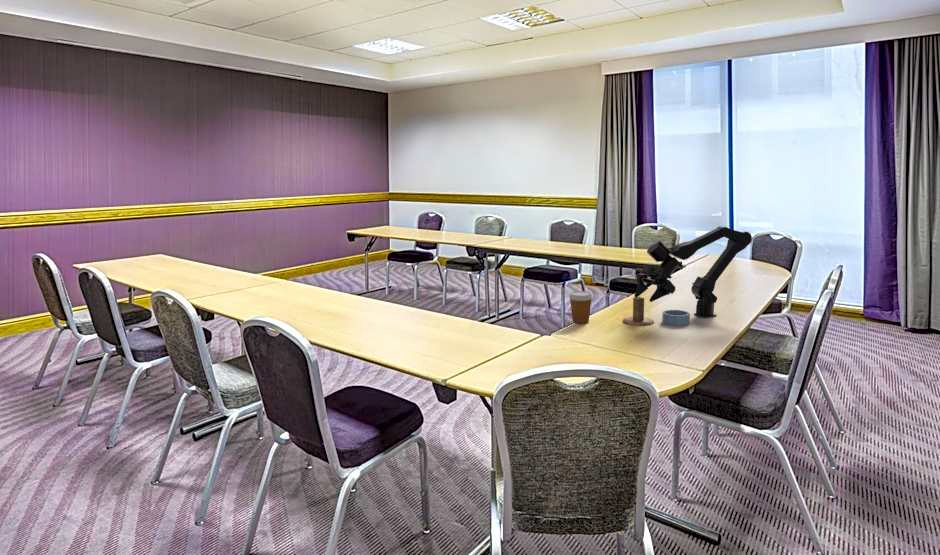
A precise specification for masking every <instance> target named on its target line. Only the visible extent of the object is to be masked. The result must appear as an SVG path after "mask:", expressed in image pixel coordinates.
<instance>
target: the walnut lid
mask: <svg viewBox="0 0 940 555" xmlns="http://www.w3.org/2000/svg"><path fill="white" fill-rule="evenodd" d="M632 303H633V304H632V316H629V317H628V316H627V317H625V318H623V319H622V322H623V324H625V325H628V326H634V327H635V326H636V327H644V326H645V327H646V325H648V326H652V325H654V323H655V320H654V319H652V318H649V317H645V298H644V297H641V296H638V297H635V296H634V297H633V299H632ZM651 324H652V325H651Z"/></svg>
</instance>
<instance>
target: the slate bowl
mask: <svg viewBox="0 0 940 555" xmlns="http://www.w3.org/2000/svg"><path fill="white" fill-rule="evenodd" d="M661 318H662V320H661V322H662V324H664V325H667V326H672V325H673V327H684V326H688V325H690V323H691V322H690V320H691V314H690V312H689V311H686V310H683V309H681V310H680V309H666V310H663V311H662V316H661Z"/></svg>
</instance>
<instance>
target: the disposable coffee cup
mask: <svg viewBox="0 0 940 555" xmlns="http://www.w3.org/2000/svg"><path fill="white" fill-rule="evenodd" d="M593 298H594V296H593V294H592V292H590V291H584V290H579V291H578V290H577V291H576V290H575V291H571V292H570V293H569V295H568V299H569V301H570V303H569V304H570V310H571V315H572V319H571V320H572V323H574V324H576V325H585V324H589V321H590V314H591V306H592V299H593ZM577 323H578V324H577Z"/></svg>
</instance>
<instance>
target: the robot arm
mask: <svg viewBox="0 0 940 555" xmlns="http://www.w3.org/2000/svg"><path fill="white" fill-rule="evenodd" d="M722 238H725V239H728V240H727V243H726V247H725V249H724V250H723V251H722V253H721V254H720V255H719V256H718V258H717V259H716V260H715V261H714V263H713V264H712V266H711V267H710V268H709V270H708V272H707V273H706V274H705V275H704V276H702V277H701V276H696V279H695V280H694V282H692V283H691V293H692V295H694V298H695V300H697V301H696V306H695V308H696V309H695V312H694V313H693V315H694V316H698V317H701V318H704V319H705V318H712V317H717V316H718V315H717V314H716V313H715V303H717V301H718V297H717V296H716V295H715V293H713V292H714V291H715V289H716V288H715V286H716V282H717V281H718V279H719V278H720V277H721V275H722V274H723V272H724V271H725V270H726V269H727V267H728V266H729V265H730V264H731V262H732V261H733V259H734V258H735V257H736V255H737V254H738V253H740V252H741V251H743V250H745V249H746V248H747V247H748V246H749V245H750V244H751V243H752V241H753V237H752V234H751V233H750V232H749V231H745V230H739V229H736V230H734V229H731V228H729V227H728V226H724V225H723V226H722V225H719V226H717V227H716V228H714V229H712V230H710V231H709V232H706V233H704V234H702V235H701V236H698V237H696V238H694V239H692V240H688V241H683V242H680V243H677V244H674V246H673V247H666V245H664V243H663V242H662V241H660V240H658V241H657V242H655V243H653V244H651V245H650V246H649V247H648V249H647V250H646V252H647V254H648V255H649V256H650V257H651V258H652V259H653V260H654V261H655V262H656V263H660V264H654V265H652V264H648V263H644V264H643V267H642V269H641V273H637V274H636V275H635V280H636V282H637V286H636V289H635V293H634V298H635V297H641V296H642V294H643V293H645V292H646V291H647V290H648V289H649V287H650V286H652V285H653V286H656V289H655V291H654V292H653V293H652V295H651V296H650V298H649V299H648V300H649V302H650V303H652V302H655V301H657V300H658V299H661V298H663V297H665V296H667V295H668V296H669V295H670V294H672V295H673V294H674V293H675V291H676V286H675V285H674V284H673V282H672V281H671V280H670V279H672V274H673V273H674V272H675V270H676V269H683V268H684V266H683V261H686V260H688V259H690V258H691V257H692V256H694V255H695V254H696V252H697V251H699V250H700V249H703V248H705V247H706V246H708V245H710V244H713V243H714V242H717V241H718V240H720V239H722ZM672 256H673V257H672ZM678 259H679V260H682V261H679V260H678ZM644 273H646V274H644Z"/></svg>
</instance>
